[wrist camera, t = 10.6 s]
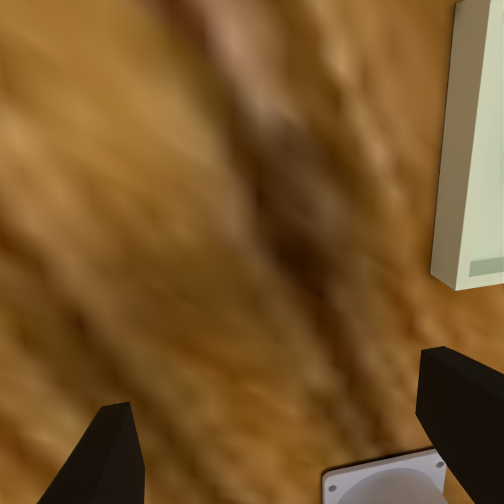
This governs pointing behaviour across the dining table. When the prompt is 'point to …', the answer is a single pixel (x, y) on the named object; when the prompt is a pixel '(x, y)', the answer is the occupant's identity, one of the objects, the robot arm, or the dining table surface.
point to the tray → (472, 153)
